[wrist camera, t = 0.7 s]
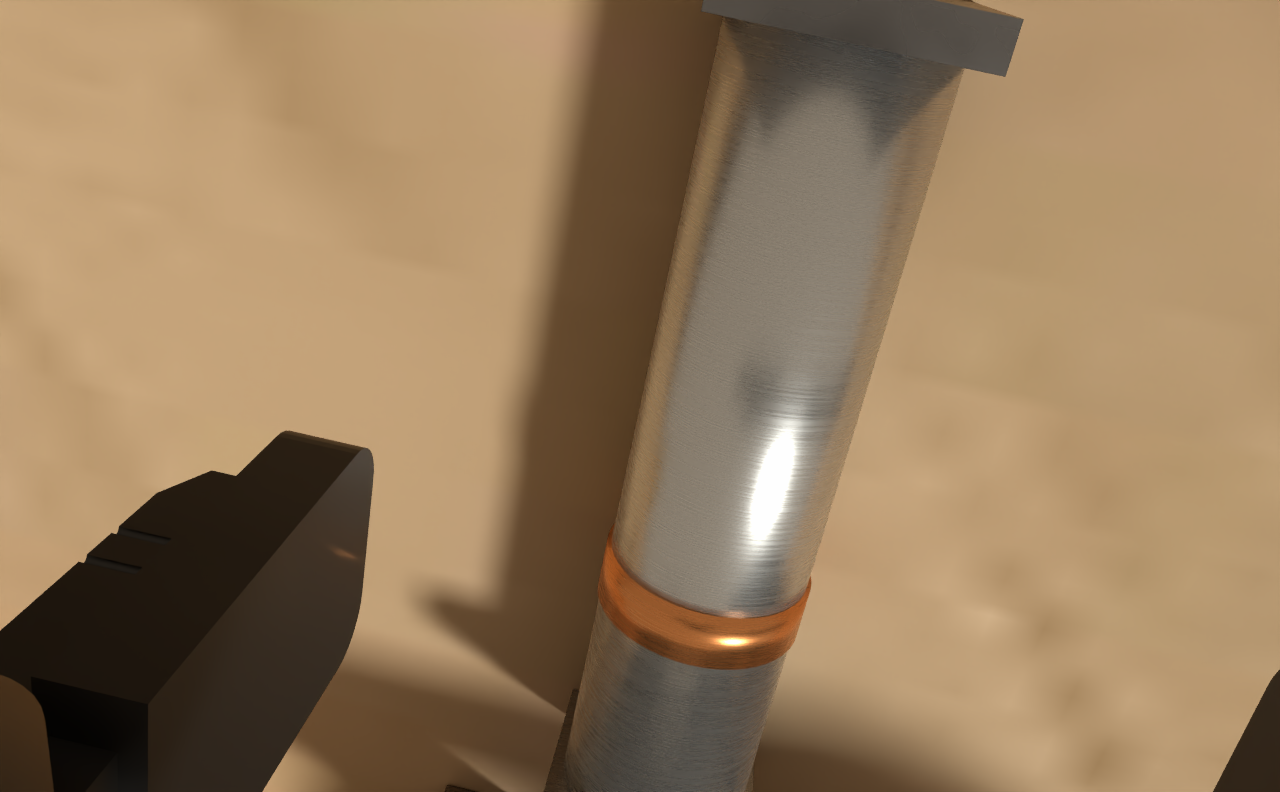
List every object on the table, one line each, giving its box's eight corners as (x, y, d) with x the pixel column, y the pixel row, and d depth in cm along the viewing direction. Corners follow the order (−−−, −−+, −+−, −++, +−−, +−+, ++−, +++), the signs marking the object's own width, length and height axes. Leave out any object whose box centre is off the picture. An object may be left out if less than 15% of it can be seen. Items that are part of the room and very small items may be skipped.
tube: (974, 2, 24) (1023, 18, 19) (747, 757, 33) (740, 907, 28) (728, -51, 25) (713, -47, 20) (567, 714, 33) (527, 855, 28)
